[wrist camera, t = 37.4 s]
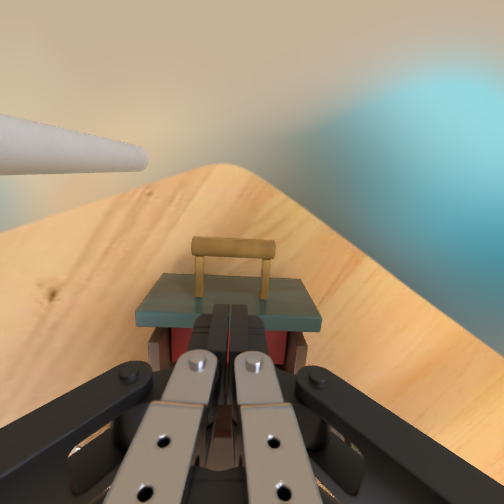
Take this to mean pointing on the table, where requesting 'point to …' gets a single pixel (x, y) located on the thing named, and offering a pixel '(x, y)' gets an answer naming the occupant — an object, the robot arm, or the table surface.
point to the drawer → (228, 292)
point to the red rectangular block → (273, 338)
